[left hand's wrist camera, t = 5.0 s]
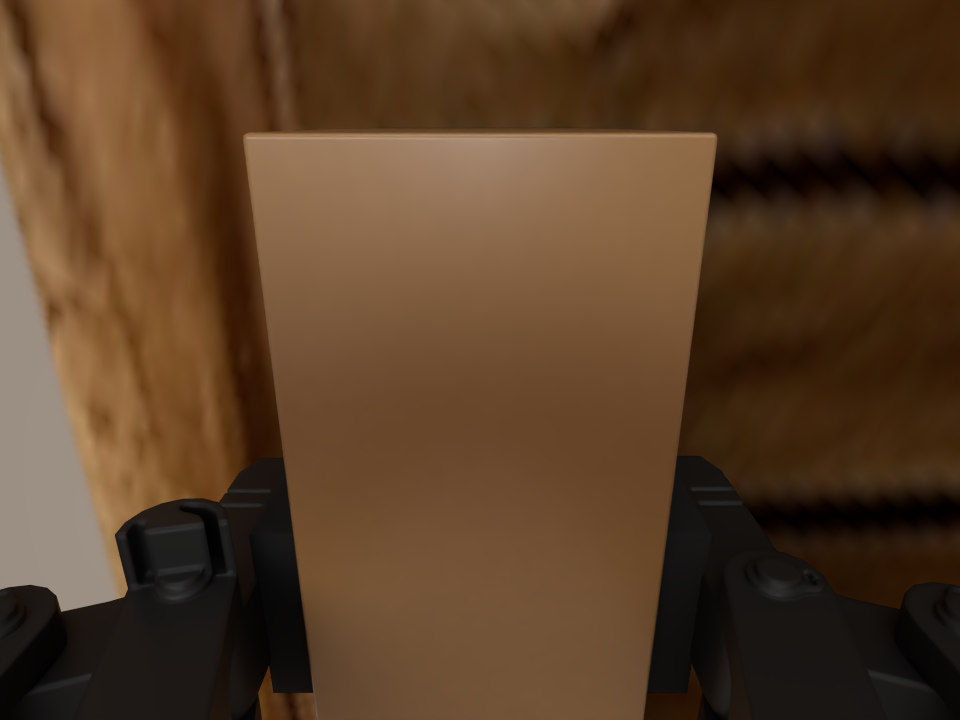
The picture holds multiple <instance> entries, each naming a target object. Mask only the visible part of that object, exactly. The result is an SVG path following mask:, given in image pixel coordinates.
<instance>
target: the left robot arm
mask: <svg viewBox="0 0 960 720" xmlns="http://www.w3.org/2000/svg"><path fill="white" fill-rule="evenodd" d="M115 538H116V542H117V546H118V550H119V554H120V558H121V562H122V566H123V570H124V574H125V578H126V582H127V586H128V590H127V593H126V595H125V597H123V598H120V599H116V600H113V601H109V602H105V603H100V604H96V605H91V606H87V607H82V608H78V609H73V610H68V611H63V612H61V610H60V606H59V603H58V600H57V596H56V595H55V594H54V593H52V592H51V591H50V590H49V589H48V588H45V587H39V586H34V585H26V586H16V587H8V588H5V589H1V590H0V720H262V716H261V709H260V702H259V696H258V692H259V689H260V687H261V684H262V682H263V679H264V676H265V674H266V671H267V669H268V666H269V667H270V673H271V680H272V686H273V693H313V685H312V678H311V670H310V662H309V654H308V646H307V638H306V630H305V622H304V614H303V607H302V599H301V591H300V583H299V575H298V567H297V559H296V551H295V543H294V536H293V528H292V520H291V512H290V504H289V496H288V488H287V480H286V473H285V465H284V458H260V459H259V460H257V461H256V462H254V463H253V464H251V465H250V466H249V467H247V468H246V469H244V470H243V471H241V472H240V473H239V474H238V476H237V477H236V478H235V480H234V481H233V483H232V484H231V486H230V487H229V489H228V493H225V494H224V496H223V497H222V499H221V500H220V502H219V503H218V502H215V501H211V500H207V499H203V498H201V499H180V500H175V501H171V502H166V503H162V504H159V505H157V506H154V507H152V508H149V509H147V510H144V511H142V512H140V513H139V514H137V515H136V516H134V517H133V518H131V519H130V520H128V521H127V522H125V523H124V524H123V526H122V527H121V528H120V529H119V530H118V532H117V533H116V534H115ZM691 663H692V665H693V667H694V670H695V672H696V675H697V677H698V680H699V682H700V685H701V687H702V690H703V691H702V696H701V702H700V708H699V714H698V720H960V587H959V586H956V585H951V584H942V583H933V582H930V583H924V584H918V585H914V586H913V587H912V588H910V589H909V590H908V591H907V592H906V593H905V595H904V598H903V601H902V605H901V608H900V609H896V608H891V607H887V606H882V605H877V604H873V603H868V602H863V601H859V600H854V599H850V598H847V597H843V596H840V595H836V594H834V592H833V589H832V587H831V586H830V585H829V583H828V582H827V580H826V579H825V578H824V576H823V575H822V574H821V573H820V572H818V571H817V570H816V569H814V568H813V567H812V566H810V565H809V564H808V563H806V562H804V561H802V560H800V559H798V558H796V557H793V556H791V555H789V554H787V553H783V552H778V551H777V550H776V549H775V547H774V546H773V544H772V543H771V542H770V540H769V539H768V537H767V536H766V534H765V533H764V531H763V530H762V529H761V527H760V526H759V524H758V523H757V521H756V520H755V518H754V517H753V516H752V514H751V513H750V511H749V510H748V508H747V507H746V506H743V501H742V500H741V498H740V497H739V495H738V494H737V493H736V491H733V487H732V485H731V484H730V482H729V481H728V480H727V478H726V477H725V475H724V474H723V472H722V471H721V470H720V469H718V468H717V467H715V466H714V465H712V464H711V463H709V462H708V461H706V460H705V459H703V458H702V457H701V456H677V461H676V469H675V477H674V485H673V492H672V500H671V508H670V516H669V524H668V532H667V540H666V547H665V555H664V563H663V571H662V579H661V587H660V595H659V602H658V610H657V618H656V626H655V634H654V642H653V650H652V657H651V665H650V673H649V681H648V689H647V693H687V689H688V682H689V676H690V670H691Z"/></svg>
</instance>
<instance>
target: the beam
mask: <svg viewBox="0 0 960 720" xmlns="http://www.w3.org/2000/svg"><path fill="white" fill-rule="evenodd" d="M243 141H244V149H245V157H246V165H247V173H248V181H249V189H250V197H251V205H252V212H253V220H254V228H255V236H256V244H257V252H258V260H259V268H260V275H261V283H262V291H263V299H264V307H265V315H266V323H267V331H268V339H269V346H270V354H271V362H272V370H273V378H274V386H275V394H276V402H277V409H278V417H279V425H280V433H281V441H282V449H283V457H284V465H285V473H286V480H287V488H288V496H289V504H290V512H291V520H292V528H293V536H294V543H295V551H296V559H297V567H298V575H299V583H300V591H301V599H302V607H303V614H304V622H305V630H306V638H307V646H308V654H309V662H310V670H311V678H312V685H313V693H314V701H315V709H316V717H317V720H644V712H645V705H646V697H647V689H648V681H649V673H650V665H651V657H652V650H653V642H654V634H655V626H656V618H657V610H658V602H659V595H660V587H661V579H662V571H663V563H664V555H665V547H666V540H667V532H668V524H669V516H670V508H671V500H672V492H673V485H674V477H675V469H676V461H677V453H678V445H679V437H680V430H681V422H682V414H683V406H684V398H685V390H686V382H687V375H688V367H689V359H690V351H691V343H692V335H693V327H694V320H695V312H696V304H697V296H698V288H699V280H700V272H701V265H702V257H703V249H704V241H705V233H706V225H707V217H708V210H709V202H710V194H711V186H712V178H713V170H714V162H715V155H716V147H717V135H716V134H714V133H712V132H685V131H658V130H631V129H604V128H357V129H329V130H302V131H275V132H249V133H247V134H244V138H243Z"/></svg>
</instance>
